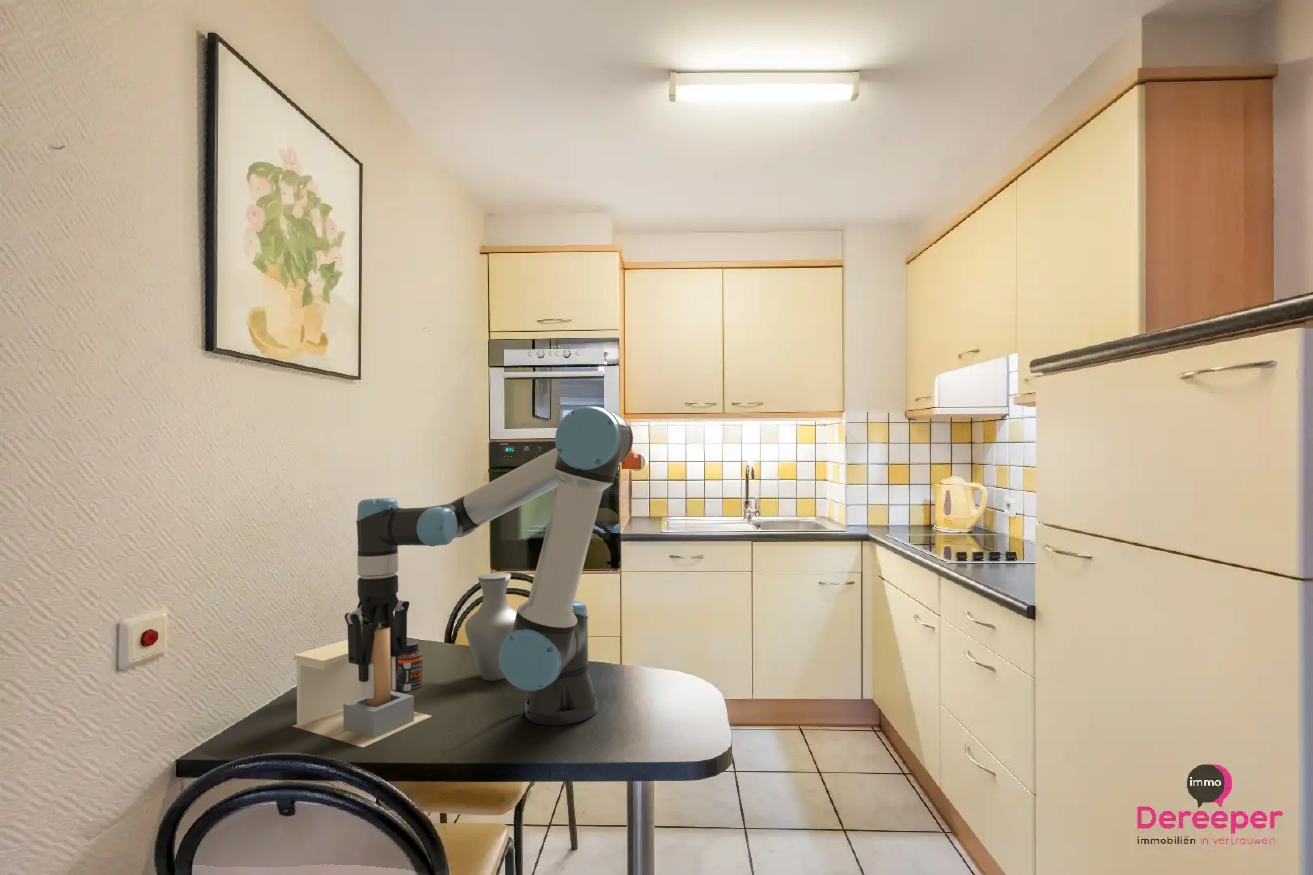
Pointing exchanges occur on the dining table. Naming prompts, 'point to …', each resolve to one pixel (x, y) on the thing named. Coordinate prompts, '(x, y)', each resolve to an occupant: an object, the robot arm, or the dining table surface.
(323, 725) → the board
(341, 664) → the cream shelf stand
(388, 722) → the socket
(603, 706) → the dining table surface
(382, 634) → the peg
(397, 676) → the supplement bottle
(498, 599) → the vase
